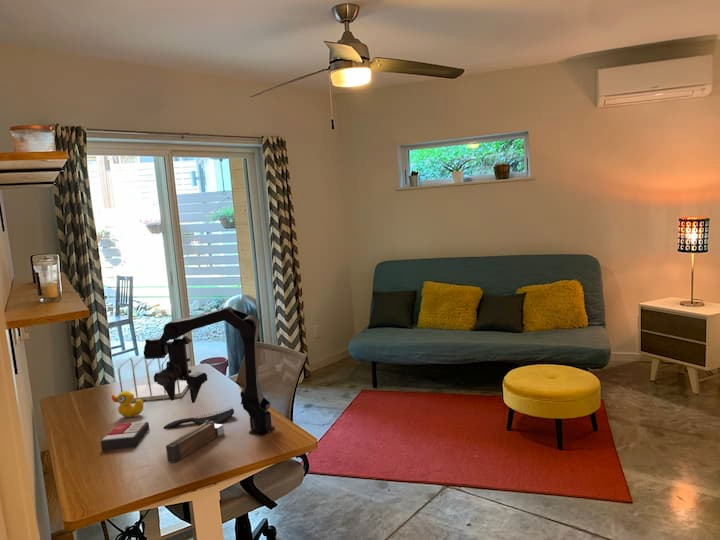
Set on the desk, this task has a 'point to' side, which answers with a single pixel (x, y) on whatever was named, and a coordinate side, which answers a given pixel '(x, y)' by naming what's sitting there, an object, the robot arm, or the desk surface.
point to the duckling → (128, 404)
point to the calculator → (125, 436)
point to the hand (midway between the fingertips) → (183, 401)
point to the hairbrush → (204, 419)
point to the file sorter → (152, 385)
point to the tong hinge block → (219, 429)
